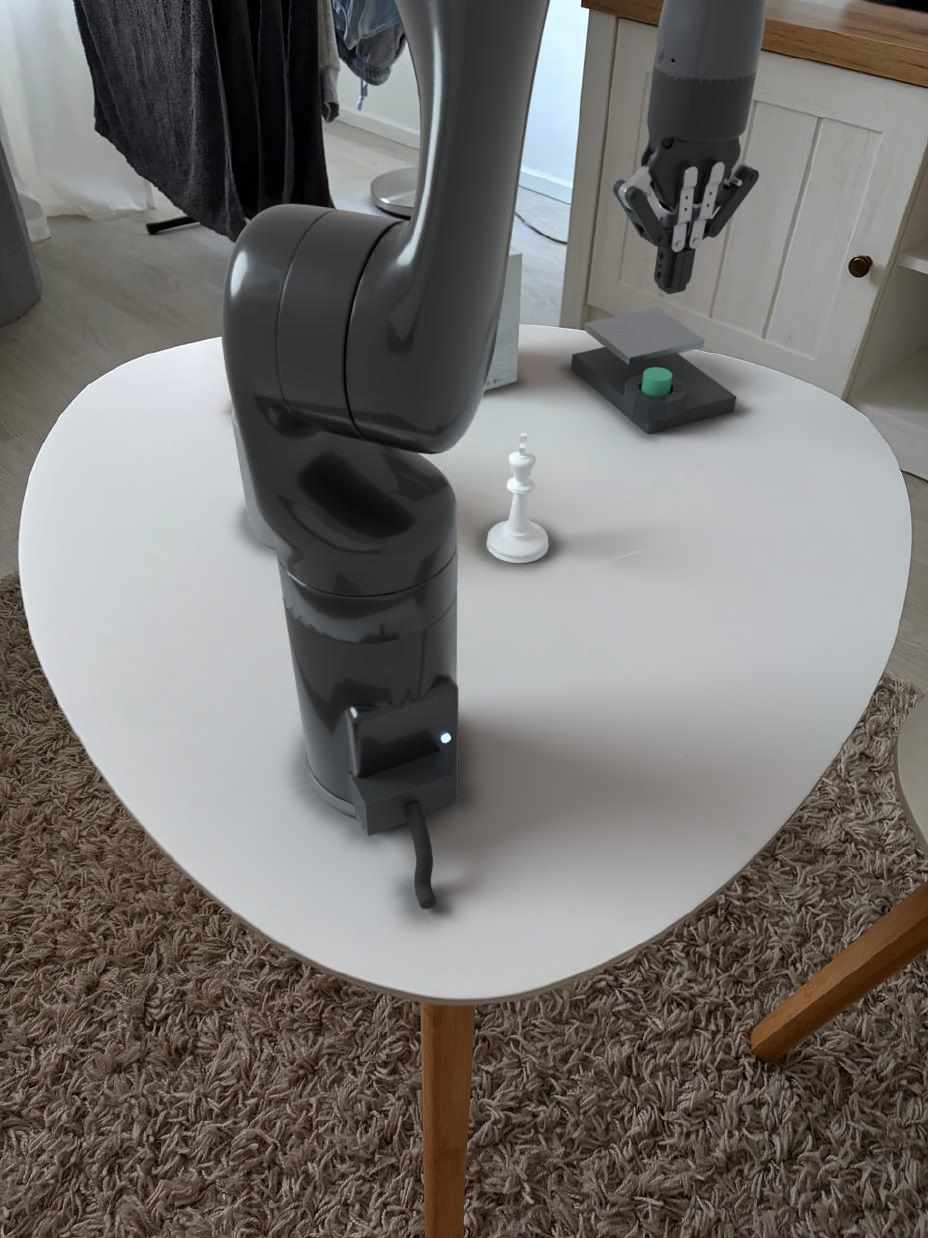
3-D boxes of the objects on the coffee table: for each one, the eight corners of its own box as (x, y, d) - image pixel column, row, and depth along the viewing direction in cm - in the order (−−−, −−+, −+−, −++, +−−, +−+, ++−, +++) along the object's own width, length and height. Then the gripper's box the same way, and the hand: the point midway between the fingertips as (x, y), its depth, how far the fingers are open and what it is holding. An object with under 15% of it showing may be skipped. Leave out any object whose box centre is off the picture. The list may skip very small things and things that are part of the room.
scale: (738, 416, 93) (746, 382, 91) (642, 441, 90) (647, 407, 87) (651, 350, 103) (656, 318, 101) (561, 371, 100) (564, 338, 97)
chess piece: (549, 527, 80) (558, 419, 73) (547, 565, 76) (556, 454, 69) (489, 523, 80) (492, 415, 73) (483, 561, 76) (487, 450, 70)
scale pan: (703, 347, 95) (705, 339, 94) (628, 365, 92) (629, 357, 91) (656, 314, 100) (657, 306, 99) (584, 330, 97) (584, 322, 97)
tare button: (675, 394, 90) (678, 377, 89) (651, 400, 89) (654, 383, 88) (659, 382, 92) (661, 364, 90) (635, 387, 91) (638, 370, 90)
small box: (518, 382, 98) (524, 252, 89) (462, 398, 95) (463, 265, 87) (477, 349, 103) (479, 223, 94) (423, 363, 101) (420, 235, 92)
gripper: (659, 83, 68) (629, 321, 79) (810, 63, 72) (760, 292, 84) (601, 58, 73) (581, 286, 84) (746, 42, 77) (707, 260, 89)
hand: (670, 289), depth 84 cm, fingers closed
